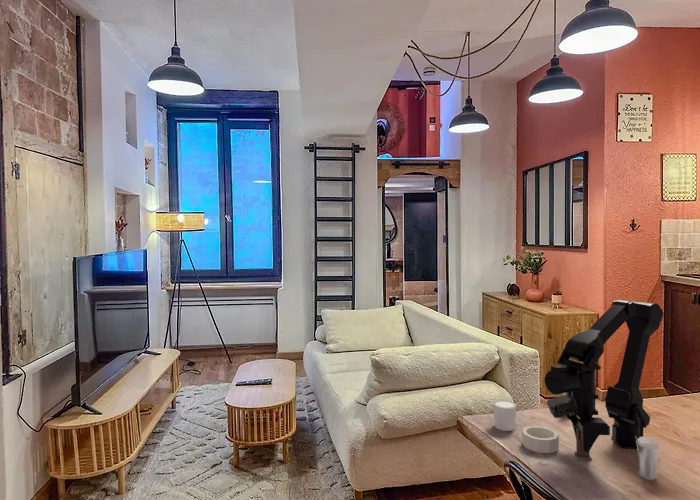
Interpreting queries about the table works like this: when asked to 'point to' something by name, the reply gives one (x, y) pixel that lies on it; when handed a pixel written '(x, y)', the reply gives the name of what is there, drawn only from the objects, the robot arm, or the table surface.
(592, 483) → the table surface
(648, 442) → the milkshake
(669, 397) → the table surface
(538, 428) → the white bowl
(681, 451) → the table surface
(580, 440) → the brown wooden handle
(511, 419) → the white tapered cylinder
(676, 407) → the table surface
